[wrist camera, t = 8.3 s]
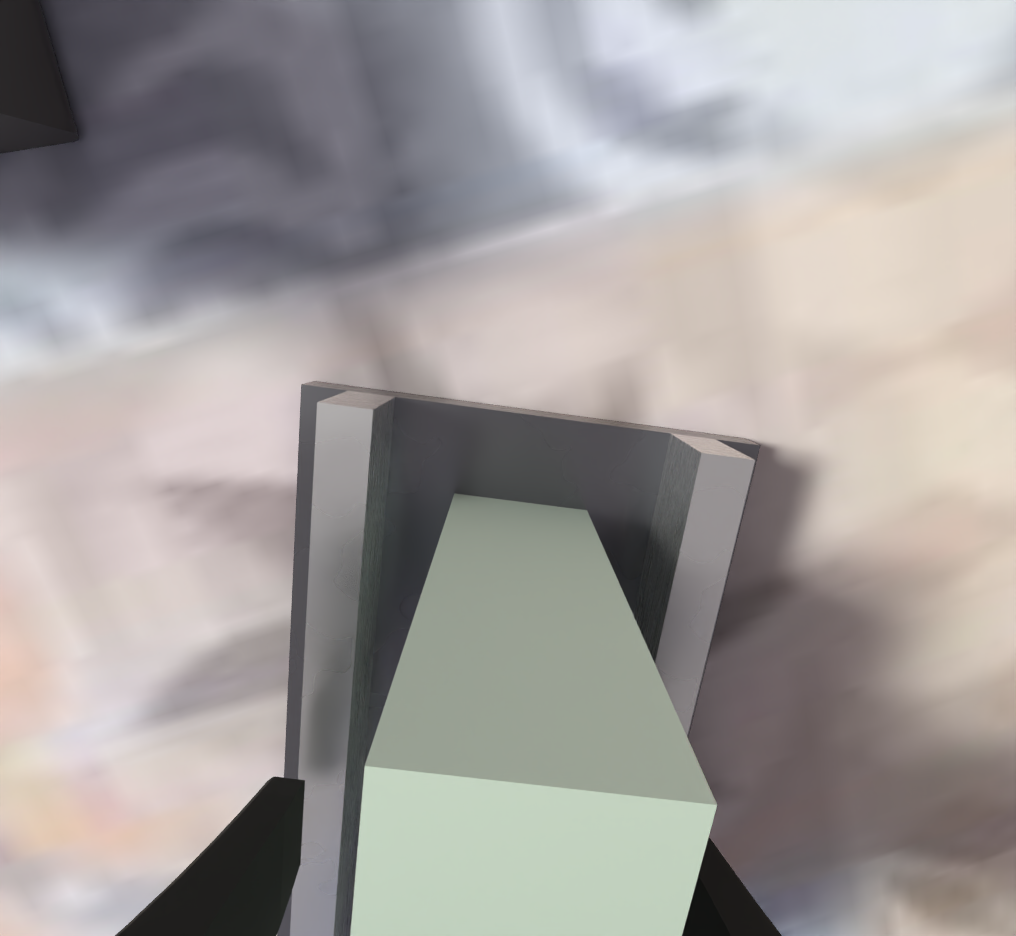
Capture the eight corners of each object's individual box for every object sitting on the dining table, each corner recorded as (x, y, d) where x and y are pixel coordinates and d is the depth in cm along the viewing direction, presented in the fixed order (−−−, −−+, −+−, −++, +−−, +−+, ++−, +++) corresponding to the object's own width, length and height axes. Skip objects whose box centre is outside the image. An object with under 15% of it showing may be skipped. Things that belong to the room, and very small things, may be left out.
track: (745, 438, 13) (808, 466, 10) (620, 956, 17) (642, 1078, 14) (313, 381, 13) (260, 394, 10) (287, 922, 16) (243, 1040, 14)
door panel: (514, 920, 15) (521, 1524, 8) (406, 909, 15) (301, 1510, 7) (586, 510, 12) (716, 804, 5) (454, 493, 12) (363, 767, 5)
